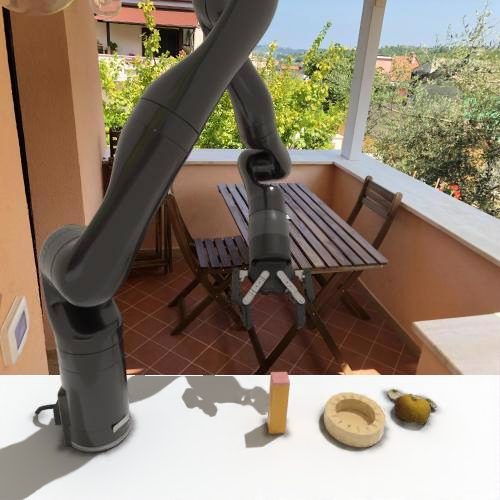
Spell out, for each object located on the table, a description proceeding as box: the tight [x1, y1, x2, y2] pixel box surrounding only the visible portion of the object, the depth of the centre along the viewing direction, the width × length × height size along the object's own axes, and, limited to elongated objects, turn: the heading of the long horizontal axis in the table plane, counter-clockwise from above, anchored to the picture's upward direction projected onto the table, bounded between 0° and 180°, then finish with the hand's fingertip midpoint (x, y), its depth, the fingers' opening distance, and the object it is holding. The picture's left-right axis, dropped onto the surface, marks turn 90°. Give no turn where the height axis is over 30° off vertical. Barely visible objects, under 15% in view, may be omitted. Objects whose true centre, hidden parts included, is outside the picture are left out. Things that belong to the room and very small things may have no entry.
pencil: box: [266, 371, 291, 435], centre depth 68 cm, size 3×3×10 cm
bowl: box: [323, 391, 386, 448], centre depth 71 cm, size 10×10×3 cm
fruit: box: [387, 388, 438, 426], centre depth 74 cm, size 8×8×4 cm
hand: (274, 328), depth 71 cm, fingers open, 8 cm apart
